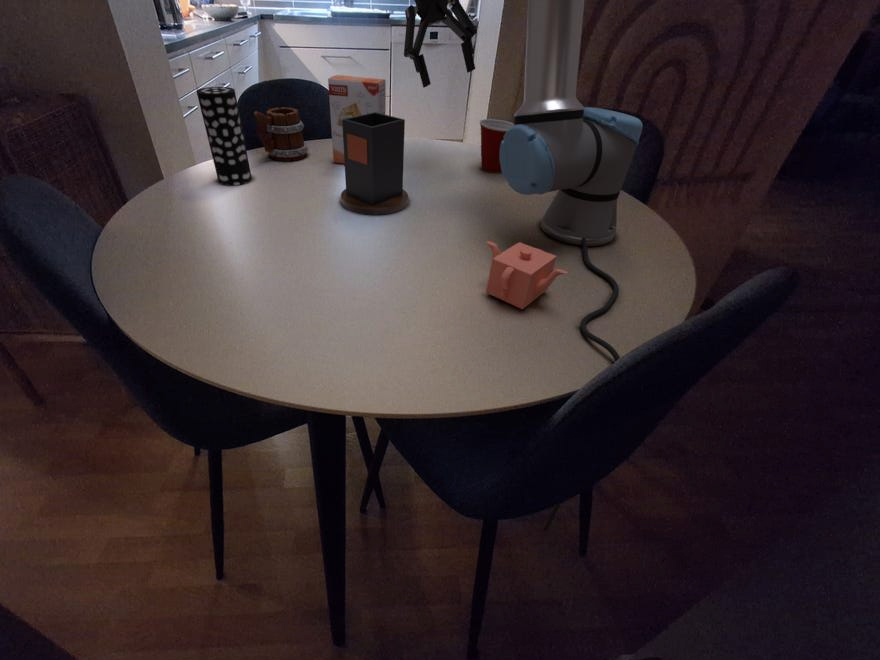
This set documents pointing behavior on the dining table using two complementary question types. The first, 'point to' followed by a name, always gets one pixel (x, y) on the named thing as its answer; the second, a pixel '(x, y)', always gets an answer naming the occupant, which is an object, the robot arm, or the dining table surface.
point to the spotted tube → (225, 134)
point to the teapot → (520, 273)
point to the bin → (373, 156)
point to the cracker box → (352, 104)
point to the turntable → (378, 209)
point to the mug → (282, 134)
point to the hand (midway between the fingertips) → (449, 78)
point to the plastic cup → (492, 143)
